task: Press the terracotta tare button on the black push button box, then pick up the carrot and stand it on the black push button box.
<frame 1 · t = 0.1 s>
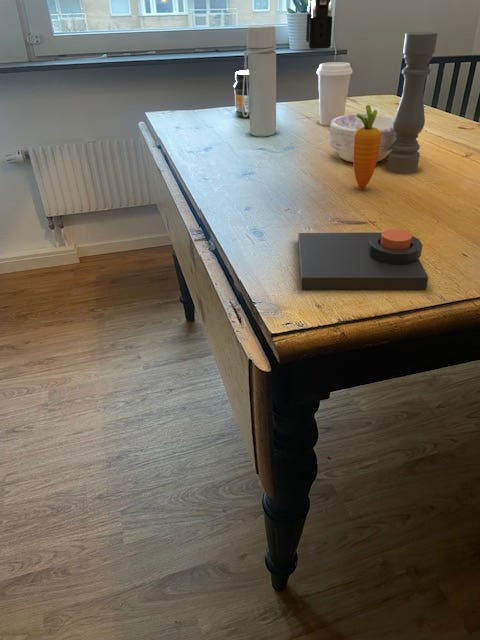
hand: (317, 44, 79), 25 cm above the table, tool pointing down, fingers open, 9 cm apart
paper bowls: (362, 158, 113), on the table
black push button box: (356, 265, 71), on the table
carrot: (361, 190, 96), on the table
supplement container: (252, 115, 154), on the table
candle holder: (401, 170, 106), on the table
water bottle: (259, 135, 134), on the table
tare button: (395, 239, 68), point 4 cm above the table, slide at 0.1 cm
coffee cup: (331, 123, 142), on the table
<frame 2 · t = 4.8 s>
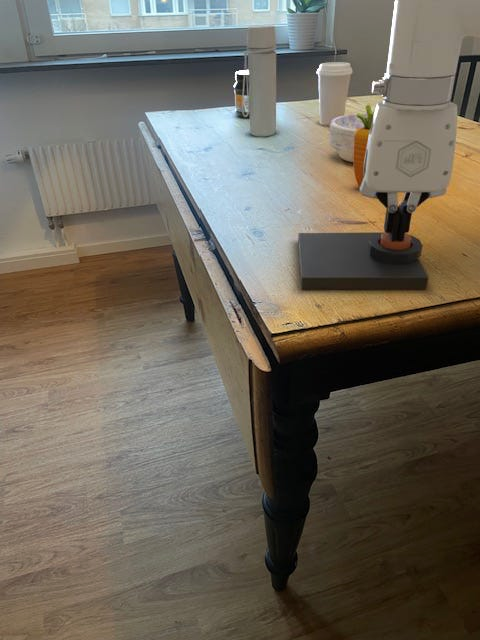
hand: (395, 236, 68), 4 cm above the table, tool pointing down, fingers closed
tare button: (395, 242, 69), point 4 cm above the table, slide at -0.2 cm, touching gripper
everything else where it was.
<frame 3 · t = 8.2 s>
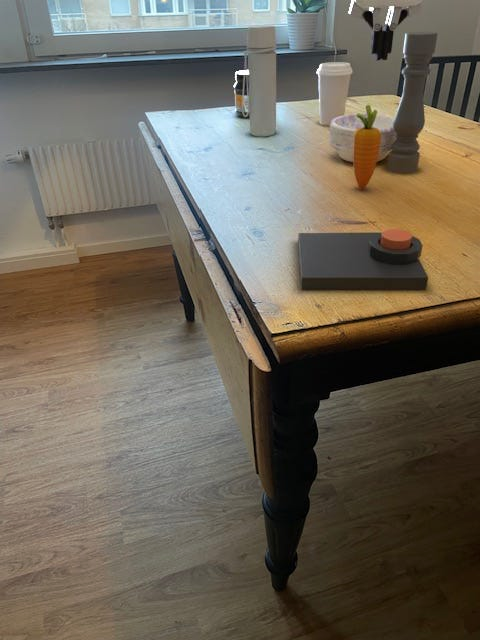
hand: (379, 58, 80), 23 cm above the table, tool pointing down, fingers closed
tare button: (395, 239, 68), point 4 cm above the table, slide at 0.1 cm
everything else where it was.
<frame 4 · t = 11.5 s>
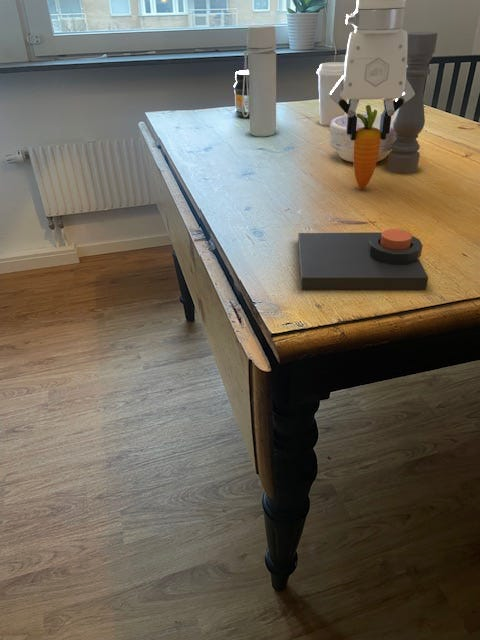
hand: (367, 137, 91), 10 cm above the table, tool pointing down, fingers closed on carrot, 4 cm apart
carrot: (361, 190, 96), on the table, touching gripper
everything else where it was.
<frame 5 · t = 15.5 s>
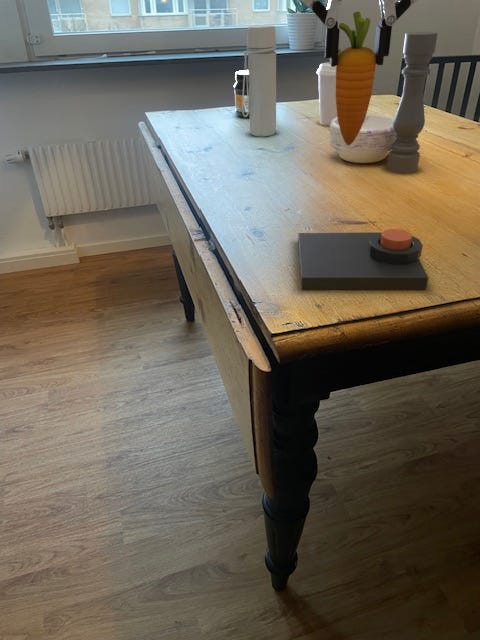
hand: (355, 62, 61), 25 cm above the table, tool pointing down, fingers closed on carrot, 4 cm apart
carrot: (348, 146, 66), point 15 cm above the table, touching gripper
everything else where it was.
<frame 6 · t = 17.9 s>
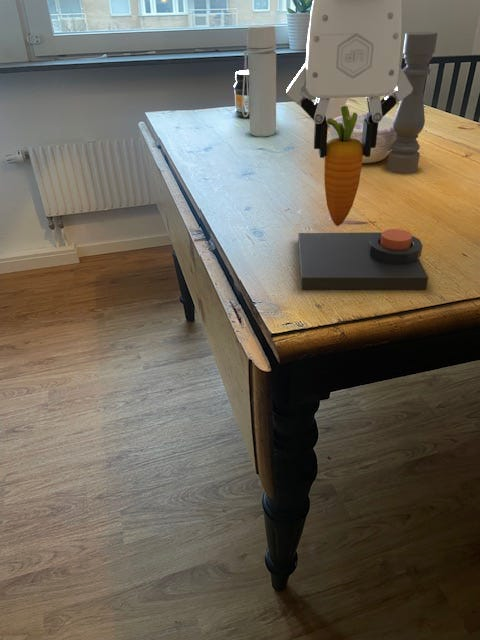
hand: (343, 152, 62), 16 cm above the table, tool pointing down, fingers closed on carrot, 4 cm apart
carrot: (337, 227, 68), point 6 cm above the table, touching gripper
everything else where it was.
when the fingers open (12 cm above the table, at t = 19.6 s): carrot stays where it is, resting on black push button box.
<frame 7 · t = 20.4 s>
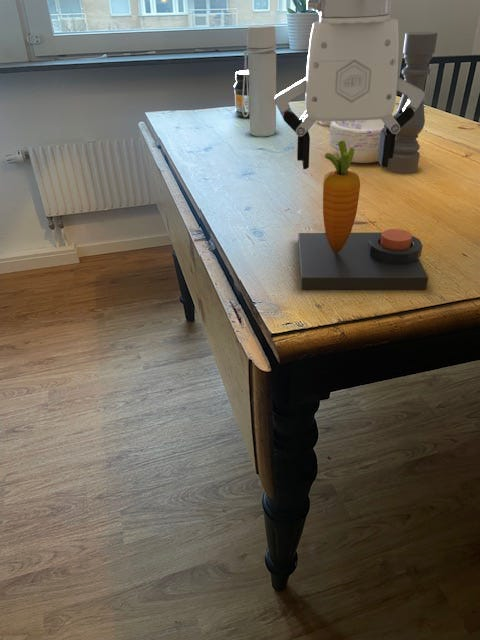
hand: (343, 165, 63), 14 cm above the table, tool pointing down, fingers open, 9 cm apart
carrot: (336, 254, 70), point 2 cm above the table, touching black push button box
everything else where it was.
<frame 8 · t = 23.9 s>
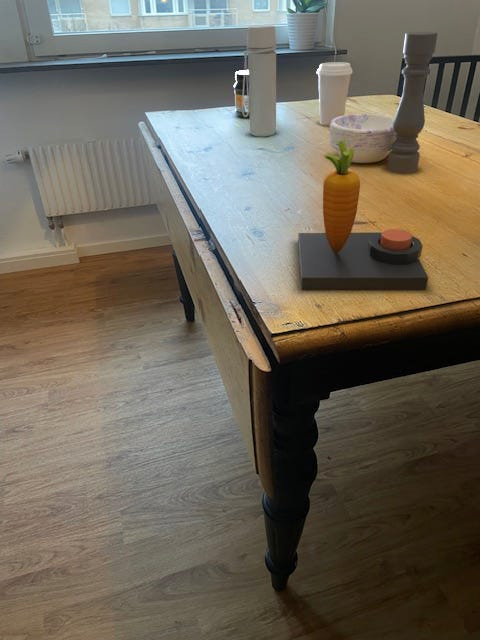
nothing on the table moved.
at the end: tare button pushed in 0.9 cm at the most during the clip, back to where it started at the end; carrot inside the target area on the black push button box (3.0 cm from its centre), point 1.7 cm above the black push button box's base; carrot tilted 0° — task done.
